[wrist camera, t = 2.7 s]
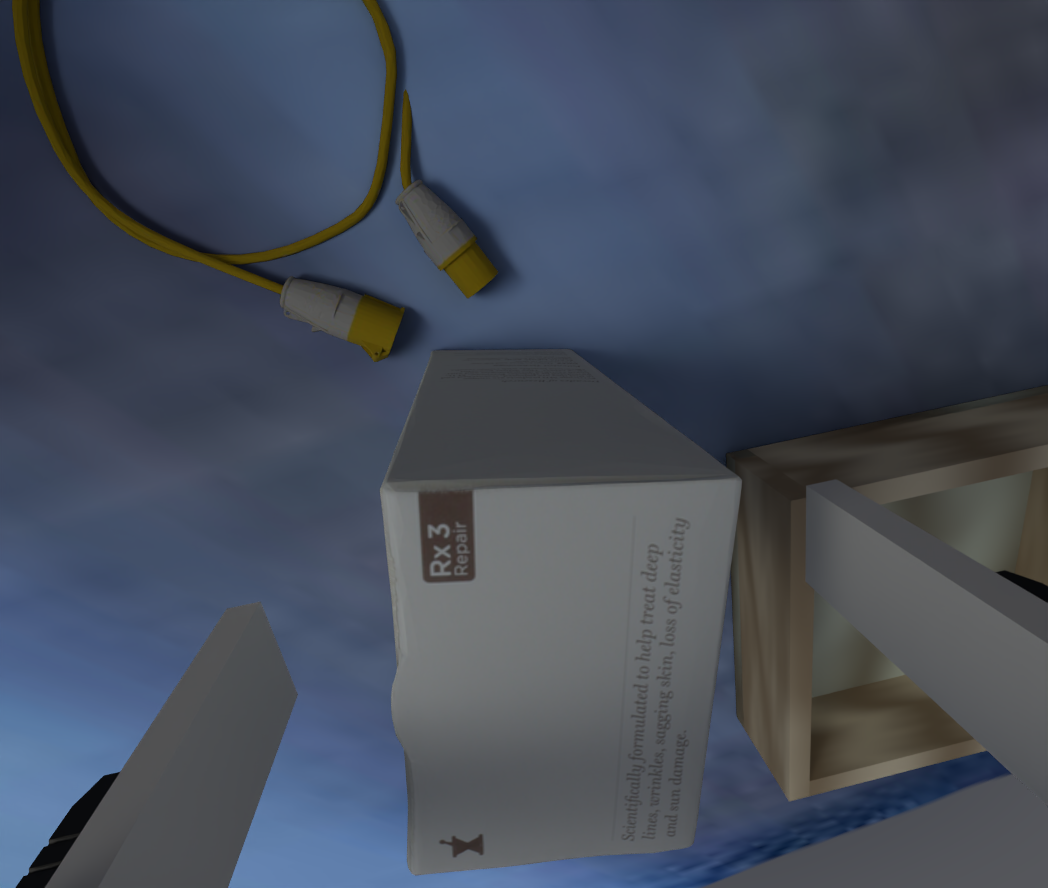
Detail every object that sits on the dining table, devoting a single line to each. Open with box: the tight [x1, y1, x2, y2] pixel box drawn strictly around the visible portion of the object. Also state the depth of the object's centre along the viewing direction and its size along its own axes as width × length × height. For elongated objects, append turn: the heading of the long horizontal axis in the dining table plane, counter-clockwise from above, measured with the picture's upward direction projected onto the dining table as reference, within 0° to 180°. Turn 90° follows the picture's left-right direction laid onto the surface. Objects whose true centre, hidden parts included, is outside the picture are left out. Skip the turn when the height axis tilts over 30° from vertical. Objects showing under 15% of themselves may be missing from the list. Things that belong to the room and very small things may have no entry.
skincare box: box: [380, 349, 742, 875], centre depth 16 cm, size 8×6×15 cm
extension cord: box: [12, 0, 498, 362], centre depth 18 cm, size 12×16×2 cm
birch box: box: [726, 385, 1048, 801], centre depth 26 cm, size 16×16×5 cm
